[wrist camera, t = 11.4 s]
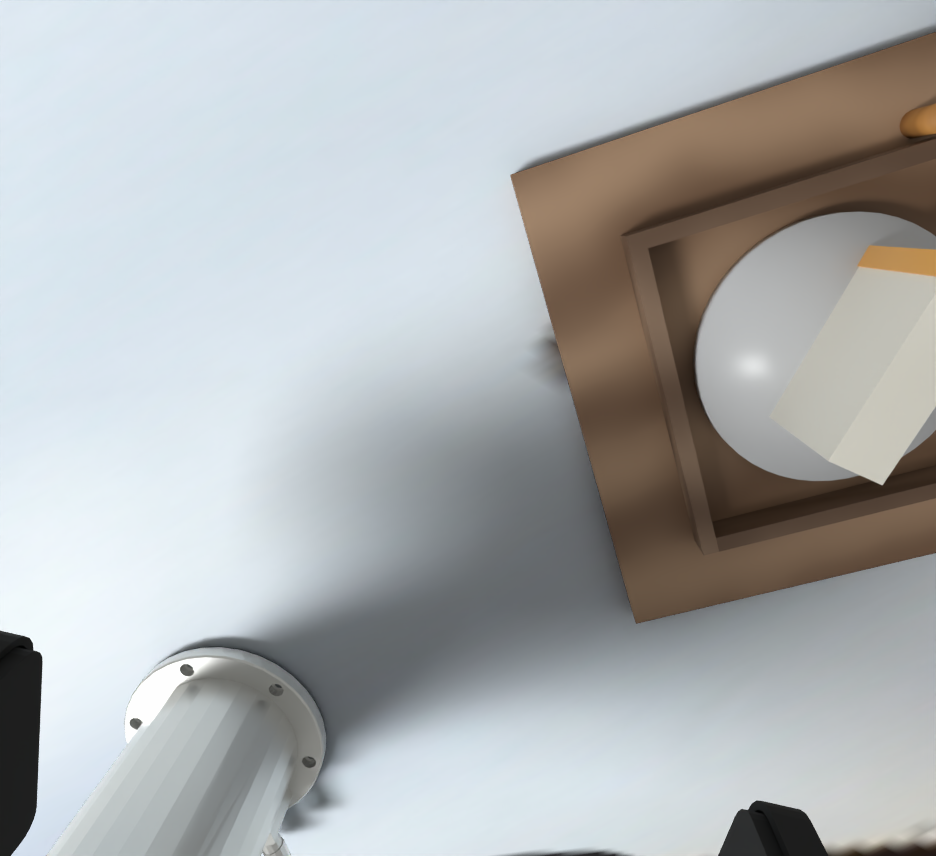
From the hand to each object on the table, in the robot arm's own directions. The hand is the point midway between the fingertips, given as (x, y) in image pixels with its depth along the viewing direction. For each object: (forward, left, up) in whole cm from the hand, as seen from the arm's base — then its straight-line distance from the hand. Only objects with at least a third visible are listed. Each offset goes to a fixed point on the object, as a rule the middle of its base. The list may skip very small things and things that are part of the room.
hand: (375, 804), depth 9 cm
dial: (-4, -17, -27) cm, 32 cm away
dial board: (-4, -17, -28) cm, 33 cm away
